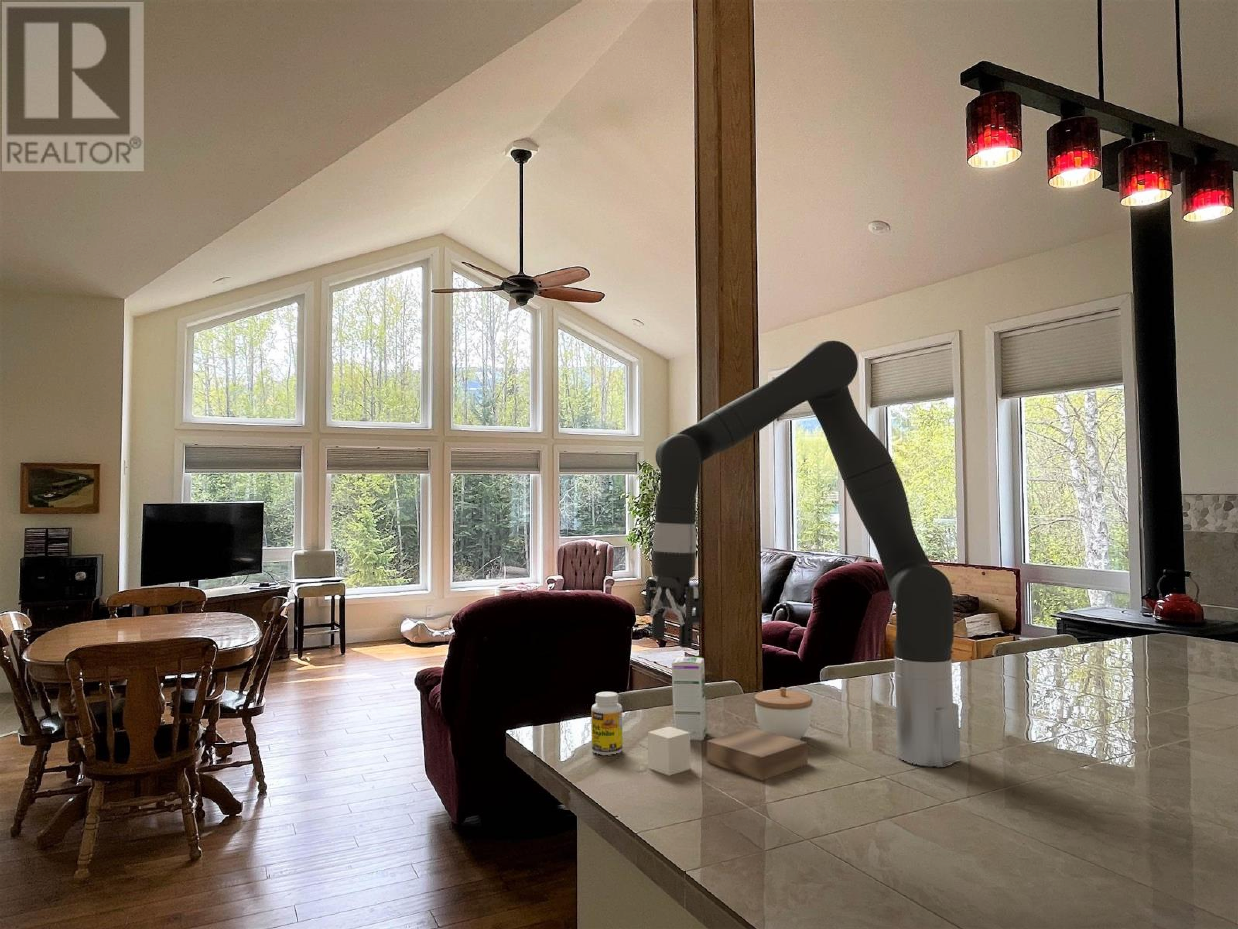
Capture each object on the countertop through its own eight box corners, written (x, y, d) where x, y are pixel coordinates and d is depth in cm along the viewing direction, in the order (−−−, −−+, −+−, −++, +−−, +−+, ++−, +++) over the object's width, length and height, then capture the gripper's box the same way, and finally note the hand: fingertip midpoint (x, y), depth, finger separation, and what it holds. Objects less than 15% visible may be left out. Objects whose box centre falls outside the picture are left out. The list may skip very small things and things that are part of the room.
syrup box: (704, 741, 147) (702, 662, 148) (672, 739, 148) (671, 661, 149) (706, 732, 152) (705, 656, 153) (676, 731, 154) (675, 656, 154)
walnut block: (807, 766, 133) (807, 742, 133) (762, 783, 125) (761, 757, 126) (752, 750, 142) (752, 727, 142) (707, 764, 134) (706, 741, 135)
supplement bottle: (587, 755, 139) (586, 696, 140) (597, 746, 144) (596, 689, 145) (617, 758, 137) (616, 698, 138) (626, 748, 143) (625, 691, 143)
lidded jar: (814, 748, 142) (813, 695, 142) (754, 745, 144) (753, 693, 144) (812, 731, 152) (811, 682, 153) (756, 729, 154) (755, 681, 155)
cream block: (690, 769, 131) (690, 732, 132) (668, 776, 128) (668, 738, 128) (669, 762, 135) (669, 726, 135) (648, 768, 132) (647, 732, 132)
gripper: (716, 552, 133) (713, 649, 132) (669, 546, 145) (666, 635, 145) (679, 552, 129) (676, 651, 129) (635, 546, 142) (631, 637, 141)
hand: (671, 642), depth 137 cm, fingers open, 8 cm apart
